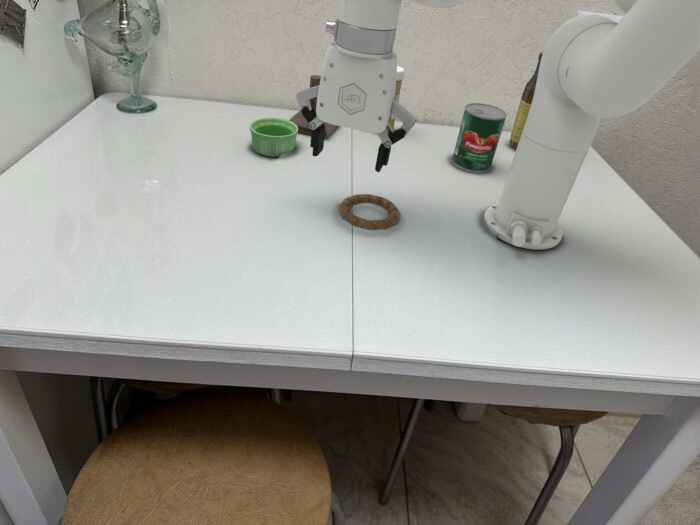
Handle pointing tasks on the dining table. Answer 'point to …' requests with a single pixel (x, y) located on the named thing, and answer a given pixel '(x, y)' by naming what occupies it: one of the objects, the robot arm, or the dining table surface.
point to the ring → (364, 223)
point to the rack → (302, 122)
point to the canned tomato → (478, 137)
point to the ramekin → (273, 136)
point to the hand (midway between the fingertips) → (348, 160)
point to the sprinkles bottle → (397, 92)
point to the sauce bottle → (524, 107)
